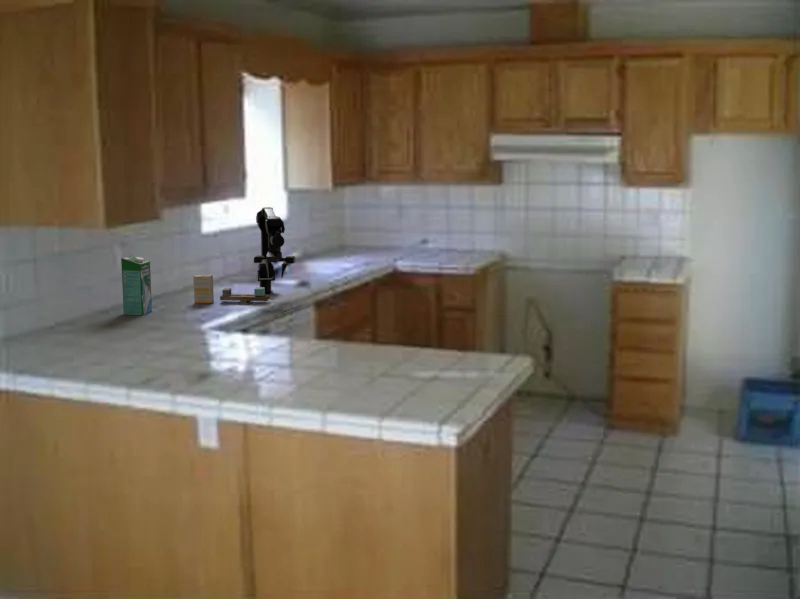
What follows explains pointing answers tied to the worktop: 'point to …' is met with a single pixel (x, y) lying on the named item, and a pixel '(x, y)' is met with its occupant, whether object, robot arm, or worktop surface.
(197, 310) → the worktop surface
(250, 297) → the brown long slotted block
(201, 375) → the worktop surface
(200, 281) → the supplement box
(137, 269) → the milk carton
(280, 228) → the robot arm
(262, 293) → the block
